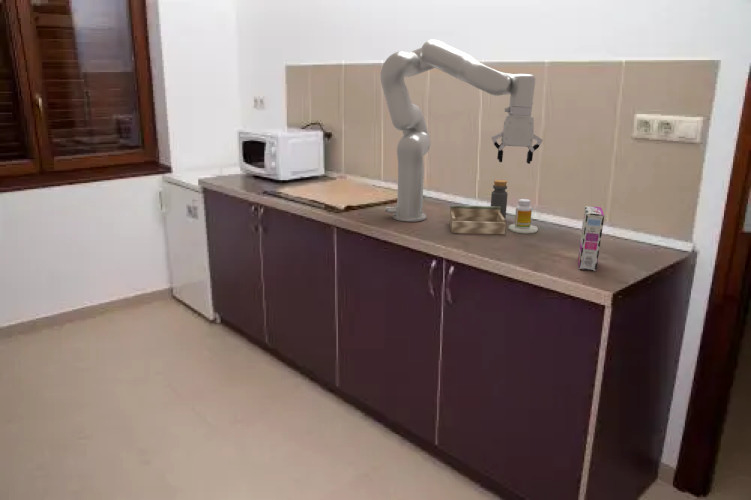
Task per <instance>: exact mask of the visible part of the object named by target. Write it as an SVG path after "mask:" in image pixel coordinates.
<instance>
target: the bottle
mask: <svg viewBox="0 0 751 500" xmlns="http://www.w3.org/2000/svg"><path fill="white" fill-rule="evenodd" d="M507 182H508V181H507V180H505V179H504V180H503V179H495V180H494V181H493V184H494V185H493V186H492V188H493V189H494V190H493V191H491V197H490V198H491V199H490V206H495V207H501V210H500V213H501V214H502V215H503V217H504V218H505V220H506V218H507V217H506V216H507V208H508V207H507V205H508V191H506V190H507V189H508V186H507Z"/></svg>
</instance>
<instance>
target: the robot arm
mask: <svg viewBox="0 0 751 500" xmlns="http://www.w3.org/2000/svg"><path fill="white" fill-rule="evenodd" d="M433 69H437V70H438V71H441V72H444V73H445V74H448V75H450V76H452V77H454V78H456V79H458V80H459V81H462V82H464V83H466V84H468V85H470V86H472V87H474V88H477V90H481V91H483V92H485V93H487V94H490V95H492V96H495V97H496V96H497V97H498V96H506V95H507V96H509V95H510V97H509V104H508V105H509V106H508V107H504V113H507V115H505V119H504V123H503V127H502V132H499V133H497V134H495V135H493V136H491V140H492V143H493V145H494V146H495V148H496V149H497V150H498V151H497V157H496V159H497V160H498V162H499V163H502V162H503V157H504V150H503V149H504V148H505V147H506V146H507V147H523V148H528V151H527V154H526V163H527V164H529V165H530V164H531V162H532V161H533V156H534V153H535V151H536V150H538V148H540V146H541V144H542V143H543V139H542V138H540V137H539V136H537V135H535V134H534V132H535V131H534V129H535V125H534V124H535V123H534V121H535V120H534V118H535V117H534V116H532V111H533V104H534V102H533V101H534V95H535V86H536V76H535V75H534V74H529V73H514V74H513V73H507V72H502V71H499V70H496V69H494V68H491V67H489V66H487V65H485V64H483V63H481V62H480V61H478V60H476V59H475V58H474V57H473V56H472V55H470V54H468V53H466V52H464V51H461V50H459V49H457V48H455V47H453V46H450V45H448V44H446V43H445V42H444V41H441V40H437V39H429V40H427V41H425V42H424V43H423V44H422V46H421V47H419V48H416V49H414V50H411V51H410V52H409V51H404V50H403V51H401V50H400V51H396V52H394V53H392V54H390V55H389V56H388V57H387V58H386V60H385V61H384V63H383V64H382V67H381V69H380V85H381V88H382V91H383V95H384V98H385V101H386V106H387V109H388V112H389V116H390V118H391V119H390V120H391V124H392V125H393V127H394V128H395V129H396V130H398V131H402V134H403V136H402V137H401V138H400V139H399V140H398V143H397V147H396V157H397V197H396V198H397V199H396V200H397V201H396V203H397V204H396V206H385V211H384V212H386V213H388V214H390V213H391V214H392V218H393V219H394V220H395V221H400V222H408V223H410V222H413V223H415V222H421V221H425V220H426V219H427V215H426V214H425V213H424V212H423V205H424V182H425V181H424V179H425V177H424V176H425V175H424V174H425V171H424V170H425V166H424V164H425V163H424V156H425V155H426V154H427V153H429V151H430V148H431V138H430V134H429V131H428V127H427V123H426V120H425V117H424V113H423V111H422V110H421V108H420V107H419V106H418V105H417V104H415V103H412V100H411V97H410V94H409V90H408V88H407V84H406V83H405V78H407V77H408V78H409V77H414V76H417V75H419V74H422V73H425V72H427V71H431V70H433ZM500 138H501V142H500V144H499V143H498V141H497V140H498V139H500ZM534 140H535V141H536V142H535V144H534V143H533V142H534ZM533 144H534V145H533Z"/></svg>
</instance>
